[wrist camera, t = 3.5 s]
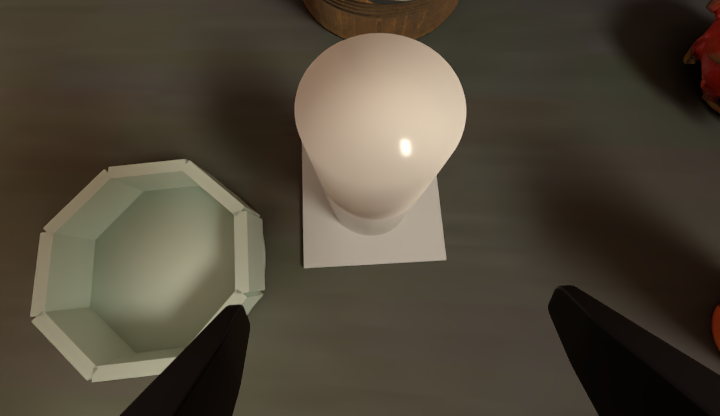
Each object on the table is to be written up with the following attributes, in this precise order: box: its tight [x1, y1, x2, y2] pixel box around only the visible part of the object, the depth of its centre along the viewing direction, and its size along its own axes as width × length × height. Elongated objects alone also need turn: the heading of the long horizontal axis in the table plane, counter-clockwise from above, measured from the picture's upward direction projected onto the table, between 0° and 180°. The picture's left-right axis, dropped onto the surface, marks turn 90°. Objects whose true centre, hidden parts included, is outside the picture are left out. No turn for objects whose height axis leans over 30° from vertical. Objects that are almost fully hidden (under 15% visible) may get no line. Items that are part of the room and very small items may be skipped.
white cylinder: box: [295, 33, 466, 236], centre depth 16 cm, size 6×6×12 cm
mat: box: [302, 143, 446, 268], centre depth 22 cm, size 10×10×1 cm
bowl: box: [30, 159, 266, 382], centre depth 20 cm, size 13×13×4 cm
